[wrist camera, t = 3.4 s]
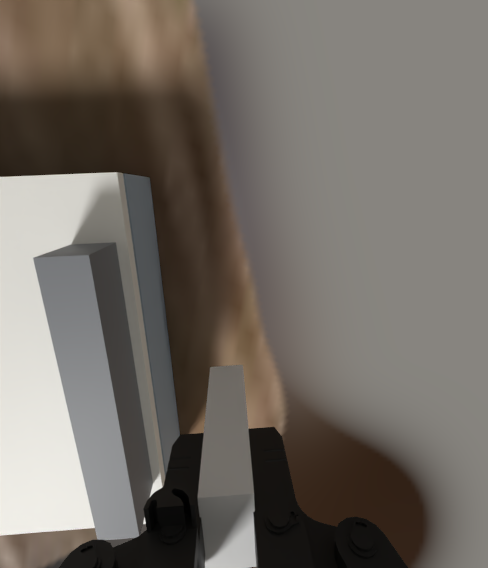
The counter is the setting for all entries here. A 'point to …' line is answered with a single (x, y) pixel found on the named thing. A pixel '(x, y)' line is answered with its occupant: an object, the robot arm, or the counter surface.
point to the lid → (73, 361)
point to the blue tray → (153, 308)
